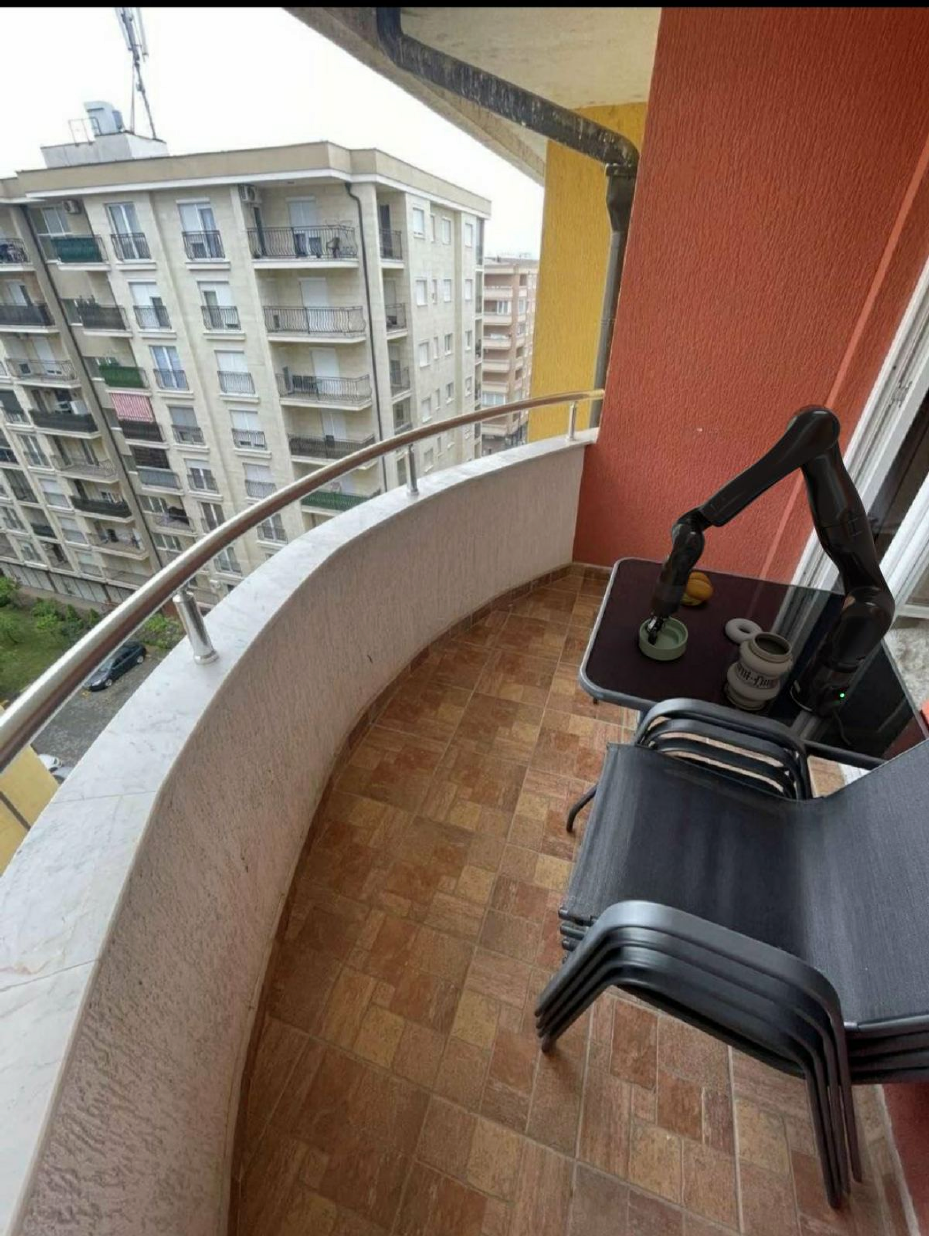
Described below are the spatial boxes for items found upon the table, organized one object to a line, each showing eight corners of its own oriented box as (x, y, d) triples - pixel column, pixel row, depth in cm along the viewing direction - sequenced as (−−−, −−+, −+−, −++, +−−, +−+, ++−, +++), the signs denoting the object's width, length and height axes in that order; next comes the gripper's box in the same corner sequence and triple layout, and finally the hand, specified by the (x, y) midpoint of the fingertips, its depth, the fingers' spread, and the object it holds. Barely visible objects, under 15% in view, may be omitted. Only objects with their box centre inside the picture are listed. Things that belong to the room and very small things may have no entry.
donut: (726, 645, 153) (764, 650, 152) (730, 636, 151) (768, 641, 150) (720, 622, 161) (756, 627, 159) (724, 613, 159) (761, 618, 157)
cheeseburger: (688, 583, 175) (704, 562, 167) (708, 609, 169) (726, 588, 161) (663, 590, 171) (678, 568, 163) (683, 616, 166) (699, 595, 158)
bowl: (696, 649, 147) (698, 636, 144) (658, 668, 145) (659, 655, 142) (665, 623, 156) (666, 610, 153) (629, 640, 154) (630, 628, 150)
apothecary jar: (711, 678, 143) (736, 626, 131) (755, 677, 144) (784, 625, 132) (732, 714, 134) (761, 662, 122) (779, 713, 135) (812, 661, 123)
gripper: (670, 610, 134) (652, 661, 145) (693, 587, 141) (675, 637, 152) (642, 597, 137) (627, 647, 148) (666, 575, 145) (650, 624, 156)
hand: (651, 642), depth 150 cm, fingers closed
